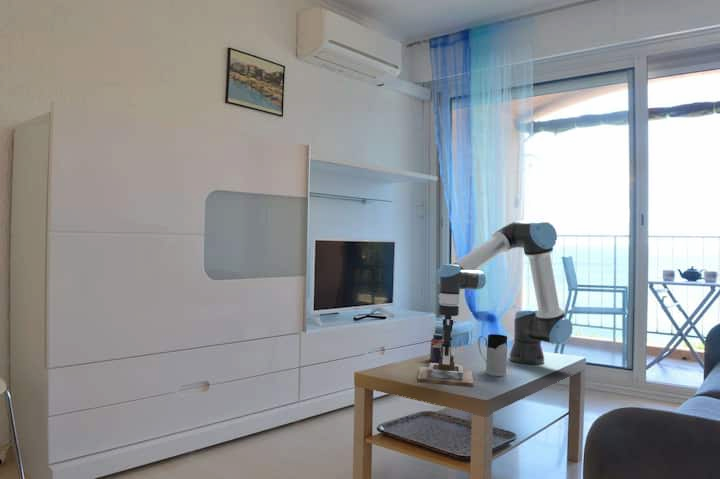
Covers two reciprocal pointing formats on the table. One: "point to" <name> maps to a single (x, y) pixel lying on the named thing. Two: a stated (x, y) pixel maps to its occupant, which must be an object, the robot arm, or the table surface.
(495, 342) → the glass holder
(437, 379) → the socket plate
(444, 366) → the utensil holder
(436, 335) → the supplement bottle
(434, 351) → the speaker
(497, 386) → the table surface
